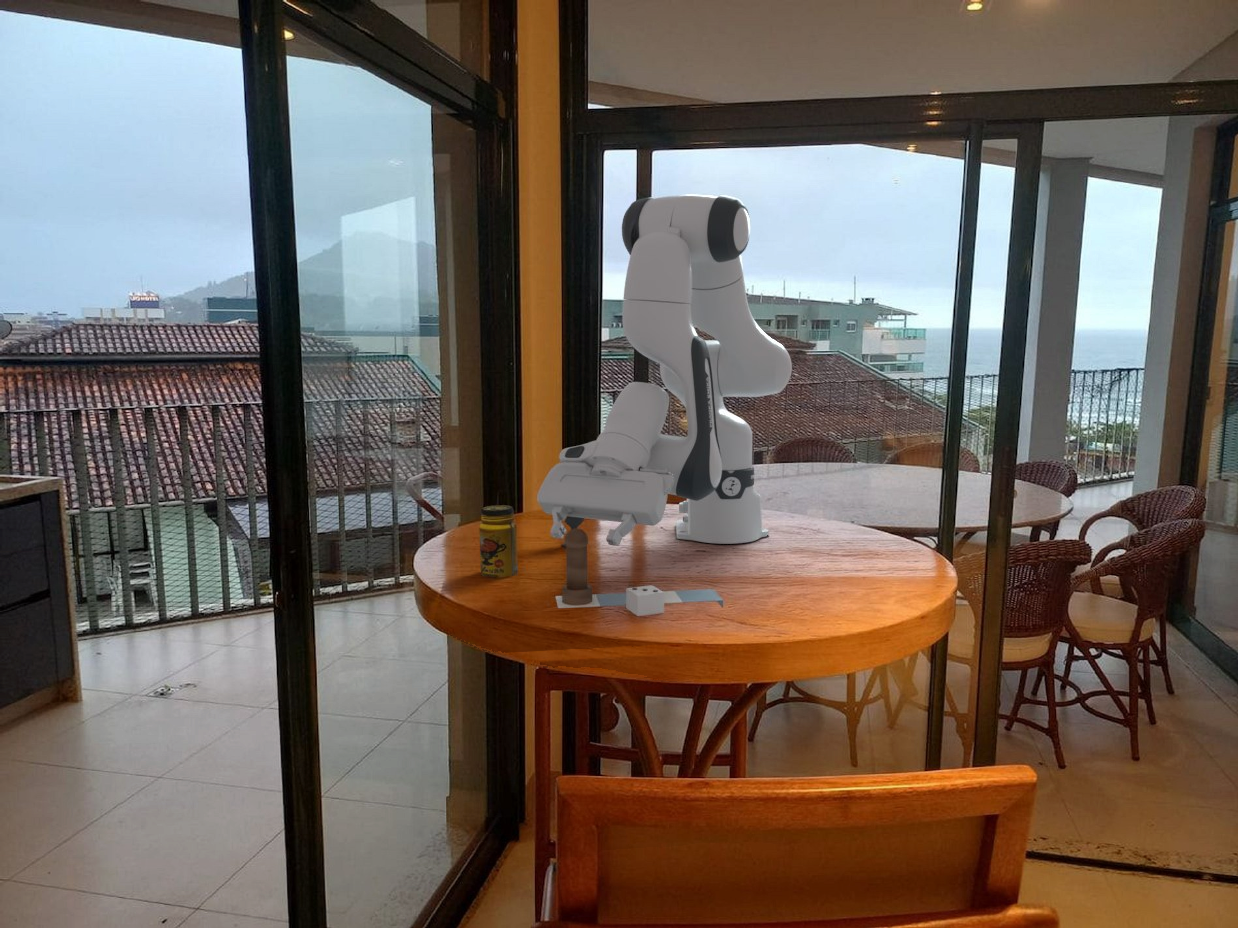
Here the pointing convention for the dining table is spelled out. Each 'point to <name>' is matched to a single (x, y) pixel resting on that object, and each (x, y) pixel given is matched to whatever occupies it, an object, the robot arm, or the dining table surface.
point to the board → (668, 598)
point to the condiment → (498, 542)
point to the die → (645, 600)
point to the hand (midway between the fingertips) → (583, 539)
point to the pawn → (576, 569)
